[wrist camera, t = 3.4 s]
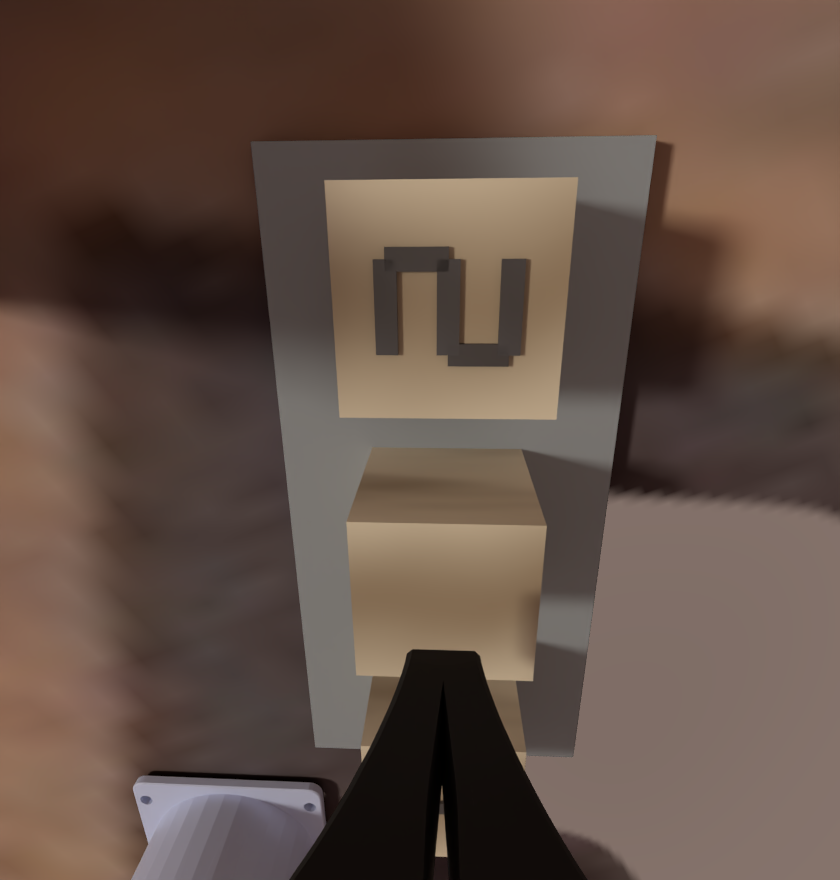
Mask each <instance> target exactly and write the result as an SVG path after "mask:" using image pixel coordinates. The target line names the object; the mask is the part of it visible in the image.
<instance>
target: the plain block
mask: <svg viewBox="0 0 840 880" xmlns="http://www.w3.org/2000/svg"><path fill="white" fill-rule="evenodd" d="M346 525H347V540H348V556H349V571H350V587H351V602H352V618H353V633H354V649H355V664H356V675H359V676H390V677H401V673H402V670H403V667H404V664H405V659H406V655H407V653H408V652H410V651H411V650H412V649H425V650H459V651H475V652H476V653H478V654H479V655H480V658H481V663H482V667H483V670H484V674H485V677H486V680H512V681H533V674H534V663H535V652H536V640H537V629H538V618H539V607H540V596H541V585H542V574H543V563H544V552H545V541H546V530H547V525H546V522H545V519H544V516H543V513H542V510H541V507H540V504H539V501H538V498H537V495H536V492H535V489H534V486H533V483H532V480H531V477H530V474H529V471H528V468H527V465H526V462H525V459H524V456H523V453H522V450H521V449H470V448H388V447H372V450H371V453H370V455H369V458H368V461H367V464H366V467H365V470H364V473H363V476H362V478H361V481H360V484H359V487H358V490H357V493H356V496H355V499H354V501H353V504H352V507H351V510H350V513H349V516H348V519H347V521H346Z"/></svg>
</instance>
